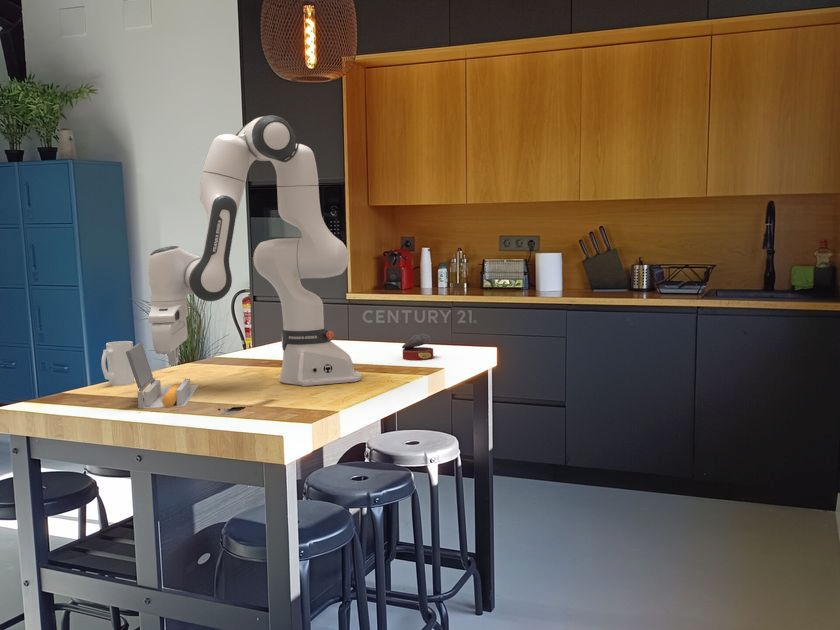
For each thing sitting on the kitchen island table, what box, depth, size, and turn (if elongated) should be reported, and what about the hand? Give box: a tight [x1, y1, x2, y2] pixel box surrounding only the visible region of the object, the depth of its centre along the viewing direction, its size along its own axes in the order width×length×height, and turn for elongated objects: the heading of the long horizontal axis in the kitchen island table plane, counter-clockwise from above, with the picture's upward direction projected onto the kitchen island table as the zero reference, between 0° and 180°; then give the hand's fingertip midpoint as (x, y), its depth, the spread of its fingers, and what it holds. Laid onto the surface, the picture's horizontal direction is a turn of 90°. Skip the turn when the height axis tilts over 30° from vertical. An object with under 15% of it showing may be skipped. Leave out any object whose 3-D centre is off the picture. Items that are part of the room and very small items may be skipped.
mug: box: [100, 340, 135, 387], centre depth 213 cm, size 10×7×12 cm, turn 157°
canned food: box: [401, 333, 434, 362], centre depth 254 cm, size 11×10×10 cm
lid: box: [126, 342, 155, 392], centre depth 190 cm, size 10×15×1 cm
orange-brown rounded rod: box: [162, 384, 181, 408], centre depth 190 cm, size 3×12×3 cm
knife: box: [219, 405, 253, 416], centre depth 185 cm, size 22×1×5 cm
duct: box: [136, 377, 199, 414], centre depth 196 cm, size 10×26×5 cm, turn 9°
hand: (173, 364), depth 204 cm, fingers closed
